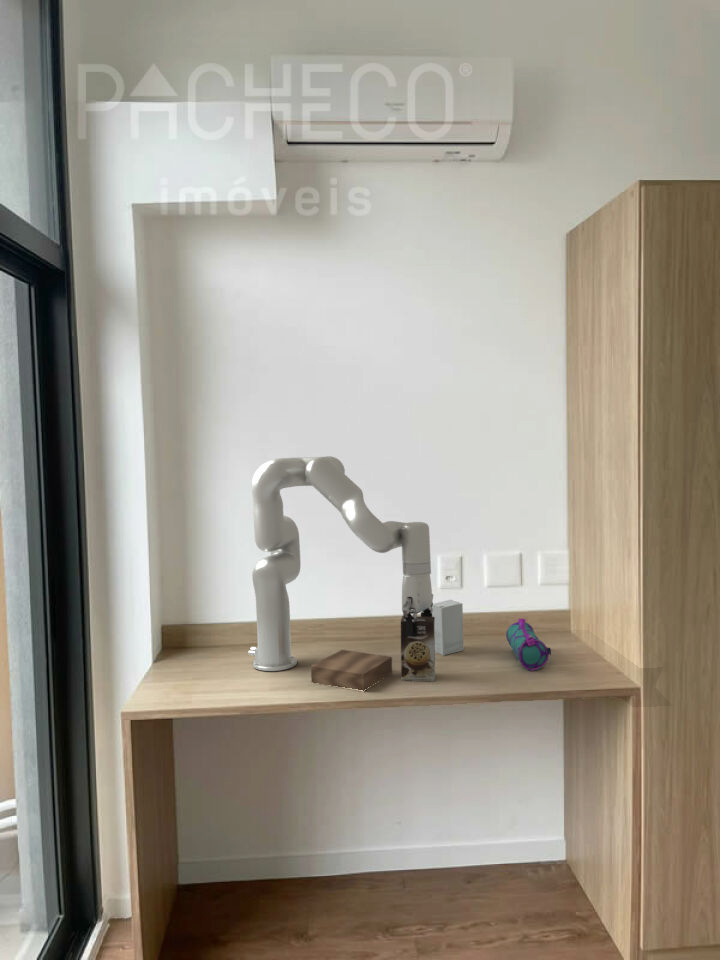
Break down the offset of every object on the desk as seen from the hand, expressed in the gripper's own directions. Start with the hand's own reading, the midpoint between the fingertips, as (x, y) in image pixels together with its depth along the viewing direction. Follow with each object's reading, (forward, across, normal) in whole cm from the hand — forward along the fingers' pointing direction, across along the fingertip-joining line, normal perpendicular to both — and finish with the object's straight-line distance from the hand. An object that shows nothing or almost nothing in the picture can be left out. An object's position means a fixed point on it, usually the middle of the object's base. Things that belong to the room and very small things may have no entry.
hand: (419, 631), depth 190 cm
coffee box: (+13, 0, -1) cm, 13 cm away
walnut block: (+13, +8, -17) cm, 23 cm away
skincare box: (+13, -25, -3) cm, 28 cm away
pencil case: (+14, -27, +21) cm, 37 cm away
